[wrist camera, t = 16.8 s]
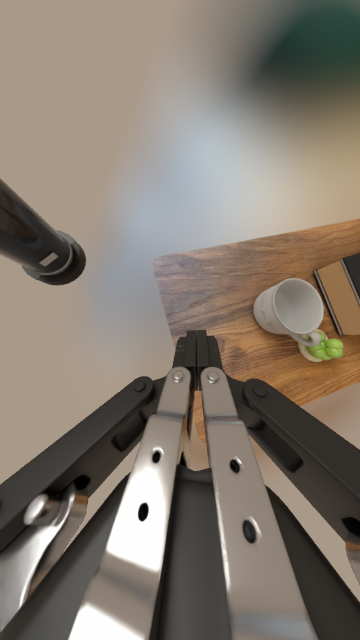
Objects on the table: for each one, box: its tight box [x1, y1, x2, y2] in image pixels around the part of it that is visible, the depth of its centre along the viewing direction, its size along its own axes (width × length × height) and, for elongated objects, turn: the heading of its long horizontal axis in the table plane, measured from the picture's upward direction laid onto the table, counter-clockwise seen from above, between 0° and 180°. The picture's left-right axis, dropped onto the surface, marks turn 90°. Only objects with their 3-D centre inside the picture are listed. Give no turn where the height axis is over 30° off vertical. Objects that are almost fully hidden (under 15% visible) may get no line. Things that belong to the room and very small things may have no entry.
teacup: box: [254, 278, 324, 347], centre depth 28 cm, size 14×11×8 cm
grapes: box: [298, 329, 343, 362], centre depth 30 cm, size 8×8×5 cm
